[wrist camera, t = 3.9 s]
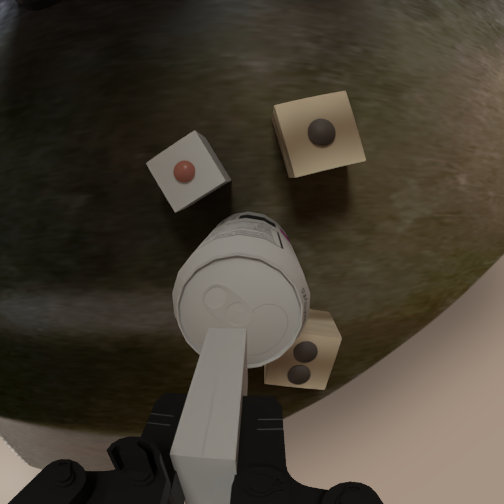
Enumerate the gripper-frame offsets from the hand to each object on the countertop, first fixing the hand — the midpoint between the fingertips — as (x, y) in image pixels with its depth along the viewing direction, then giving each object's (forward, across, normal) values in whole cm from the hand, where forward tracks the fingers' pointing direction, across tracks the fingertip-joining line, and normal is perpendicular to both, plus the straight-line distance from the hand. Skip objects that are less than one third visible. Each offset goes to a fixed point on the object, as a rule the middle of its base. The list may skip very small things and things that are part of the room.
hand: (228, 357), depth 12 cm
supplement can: (+20, 0, 0) cm, 20 cm away
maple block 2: (+20, +5, -10) cm, 22 cm away
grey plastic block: (+20, -5, +8) cm, 22 cm away
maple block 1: (+20, +6, +10) cm, 23 cm away
